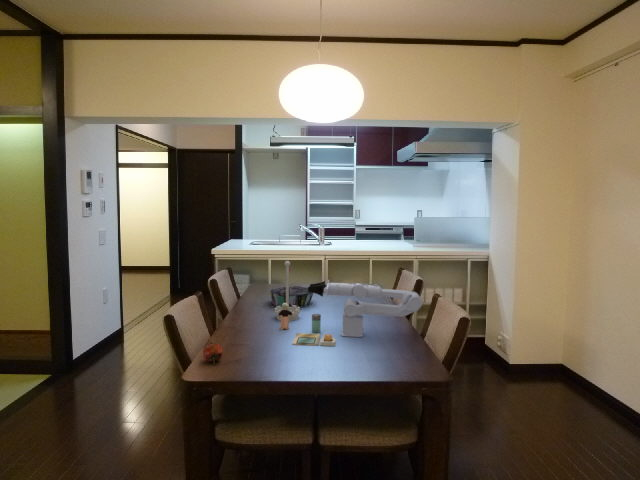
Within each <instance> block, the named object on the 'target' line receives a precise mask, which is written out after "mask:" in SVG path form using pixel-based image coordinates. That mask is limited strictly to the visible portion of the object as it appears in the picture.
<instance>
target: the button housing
mask: <svg viewBox="0 0 640 480" xmlns="http://www.w3.org/2000/svg"><path fill="white" fill-rule="evenodd" d="M319 343H320V344H319V346H320V347H335V346H336V337H332V341H331V342H330V341H324V336H323V337H321V336H320V340H319Z"/></svg>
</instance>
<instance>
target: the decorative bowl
mask: <svg viewBox="0 0 640 480" xmlns="http://www.w3.org/2000/svg"><path fill="white" fill-rule="evenodd" d="M308 287H309V286H301V285H292V286H291V285H289V307H292V305H295V306H297V307H300V308H303V307H306V306H309V305H310V304H311V302H312V298H313V296H314V293H312V292H308ZM268 293H269V295H270V298H271V300H272V303H273V304H272V305H274V306H275V308H276V307H277V306H281V307H282V304H283V303H286V286H279V287H275V288H271V289H269V290H268Z"/></svg>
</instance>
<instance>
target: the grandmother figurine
mask: <svg viewBox="0 0 640 480" xmlns="http://www.w3.org/2000/svg"><path fill="white" fill-rule="evenodd" d="M282 307H283V310H281V311H280V313H279V314H278V316H277V315H276V319H277V318H279V317H280V315H282V316H281V320H280V327H279V330H280V331H281V330H283V331H284V330H286V331H287V330H290V328H289V325H290V321H289V316H288V315H291V317H292V318H293V317H294V316H293V314H292V312H290V311H289V310H287V309H288V307H289V305H288V304H287V303H283V304H282Z"/></svg>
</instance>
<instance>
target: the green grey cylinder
mask: <svg viewBox="0 0 640 480" xmlns="http://www.w3.org/2000/svg"><path fill="white" fill-rule="evenodd" d="M321 316H322V315H321V314H320V313H313V314H311V332H312V334H321V322H322V321H321V319H322V317H321Z"/></svg>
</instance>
